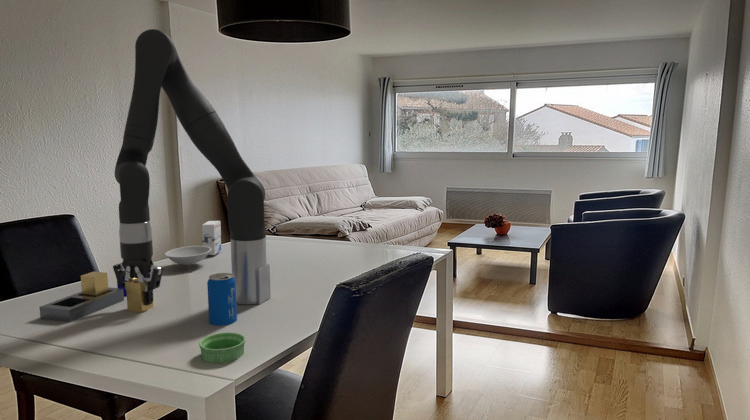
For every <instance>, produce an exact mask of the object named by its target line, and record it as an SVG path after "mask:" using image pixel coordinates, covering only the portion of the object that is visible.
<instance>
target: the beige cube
mask: <svg viewBox="0 0 750 420" xmlns="http://www.w3.org/2000/svg"><path fill="white" fill-rule="evenodd" d="M80 284H81V292H82V296H88V297H98V296H101V295H103V294H106V293H109V289H108V287H109V279H108V272H103V271H91V272H88V273H84V274H82V275H80Z"/></svg>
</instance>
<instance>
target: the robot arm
mask: <svg viewBox="0 0 750 420" xmlns="http://www.w3.org/2000/svg"><path fill="white" fill-rule="evenodd" d="M134 48H135V50H134V51H135V58H134V59H135V63H134V77H133V78H134V80H133V87H132V93H131V94H132V95H131V99H130V104H129V108H128V114H127V118H126V122H125V126H124V132H123V138H122V145H121V148H120V150H119V154H118V157H117V160H116V163H115V168H114V178H115V180H116V182H117V183H118V184H119V193H120V201H119V203H118V219H119V229H118V232H119V233H118V236H119V250H120V251H119V252H120V258H121V259H122V262H120V263H117V264H114V265H112V268H113V272H114V275H115V279H116V282H117V281H118V284H119V287H124V288H125V290H126V282H129V281H132V280H135V279H137V278H138V279H139V282H140V283H143V289H144V291H145V292H144V302H145V305H146V306H148V305H150V304H152V302H153V303H154V290H156V289H158V288H159V287H160V285H161V281H162V278H163V276H162V275H163V272H164V267H163V266H161V265H159V266H157V265H155V264H154V262H153V260H152V259H153V256H154V252H153V251H154V250H153V249H154V248H153V235H152V234H153V232H152V225H151V218H150V217H151V215H150V205H149V197H150V186H151V185H150V183H151V181H150V173H149V170H148V168H147V165H146V164H147V162H148V156H149V154H150V152H151V151H152V150H153V146H154V143H155V139H156V132H157V127H158V122H159V121H158V120H159V108H160V98H161V97H160V96H161V90H162V89H163V91H164V93H165V94H166V95H167V98H168V99H169V102H170V104H171V107H172V108H173V111H174V113H175V115H176V117H177V119H178V121H179V123H180V125H181V127H182V128H183V130H184V132H185V133H186V134H187V136H188V137H189V139H190V140H191V142H192V143H193V145H194V146H195V147H196V149H197V150H198V151H199V152H200V153H201V154H202V156H204V157H205V158H206V160H207V161H208V162H210V164H211V165H212V166H213V167H214V168H215V169H216V170H217V172H218V173H219V175H220V177H221V178H222V180H223V182H224V184H225V186H226V188H227V191H228V192H227V204H226V205H227V218H228V219H227V220H228V228H229V233H230V237H229V238H230V256H231V257H230V260H231V262H230V263H231V274H233V277H234V278H235V281H236V305H237V304H238V305H261V304H262V303H264V302H265V301H267V300H269V299H271V296H272V295H271V266H270V264H269V263H267V261H268V260H267V236H266V235H267V233H266V232H267V231H266V222H265V199H266V191H265V190H266V189H265V187H264V185H263V184H262V182H261V181H260V180H259V179H258V177H257V176H256V175H255V174H254V172H253V171H252V170H251V168H250V167H249V166H248V164H247V163H246V162H245V161H244V159H243V157H242V156H241V154H240V152H239V151H238V148H237V146H236V144H235V142H234V140H233V138H232V136H231V135H230V132H229V131H228V129H227V128H226V126H225V124H224V122H223V121H222V119H221V117H220V116H219V114H218V113H217V111H216V109H215V108H214V107H213V105H212V104H211V103H210V101H209V100H208V98H206V96H205V95H204V94H203V92H202V91H201V90H200V89H199V88H198V87H197V86H196V84H195V83H194V81H193V80H192V79H191V77H190V75H189V74H188V71H186V68H185V67H184V64H183V62H182V60H181V58H180V56H179V53H178V50H177V49H176V46H175V44H174V41H173V40H172V39H171V37H170V36H169V35H168V34H167V33H165V32H164V31H162V30H161V29H156V28H155V29H154V28H150V29H146V30H145V31H142V32H140V34H139V35H138V37H137V38H136V40H135V44H134ZM151 274H152V275H151ZM145 277H147V278H146V279H144V278H145ZM122 278H123V280H122ZM147 282H148V285H147Z"/></svg>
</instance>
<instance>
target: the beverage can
mask: <svg viewBox="0 0 750 420" xmlns="http://www.w3.org/2000/svg"><path fill="white" fill-rule="evenodd" d="M206 284H207V285H206V286H207V303H208V320H209V321H208V323H209V324H210V325H212V326H218V327H219V326H227V325H231V324H234V323H236V322H237V321H238V312H237V311H238V310H237V309H238V307H237V303H236V281H235V278H234V277H233V274H232V273H230V272H218V273H214V274H213V273H212V274H211V275H209V276H208V280H207V282H206Z"/></svg>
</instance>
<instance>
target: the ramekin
mask: <svg viewBox="0 0 750 420" xmlns="http://www.w3.org/2000/svg"><path fill="white" fill-rule="evenodd" d="M245 343H246V336H245V335H243V334H241V333H238V332H231V331H230V332H229V331H227V332H218V333H213V334H209V335H207V336H205V337H203V338H201V340H200V341H199V343H198V344H199V345H198V346H199V349H200V353H201V354H200V355H201V359H202V360H203V361H205V362H207V363H212V364H213V363H214V364H215V363H216V364H218V363H219V364H221V363H229V362H232V361H234V360H237V359H239V358H241V357H242V356H244V355H245V354H244V353H245Z"/></svg>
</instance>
